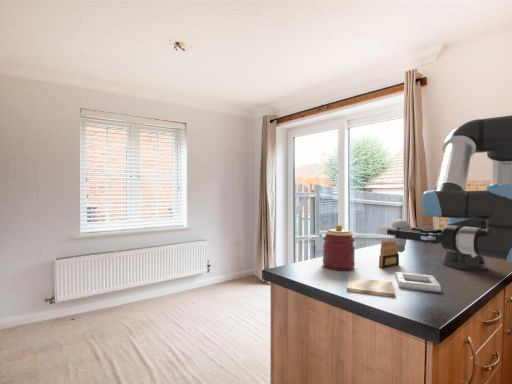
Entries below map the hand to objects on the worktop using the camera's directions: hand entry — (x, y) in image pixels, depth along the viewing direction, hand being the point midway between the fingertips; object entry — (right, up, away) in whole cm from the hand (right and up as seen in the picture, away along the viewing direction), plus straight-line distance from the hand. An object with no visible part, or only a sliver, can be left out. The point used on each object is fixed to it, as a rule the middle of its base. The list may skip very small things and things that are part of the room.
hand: (386, 229), depth 101 cm
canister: (-11, -18, +20) cm, 30 cm away
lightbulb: (+3, -7, -4) cm, 9 cm away
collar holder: (+10, -19, -1) cm, 21 cm away
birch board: (-8, -19, -5) cm, 21 cm away
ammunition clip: (+11, -19, +22) cm, 31 cm away
